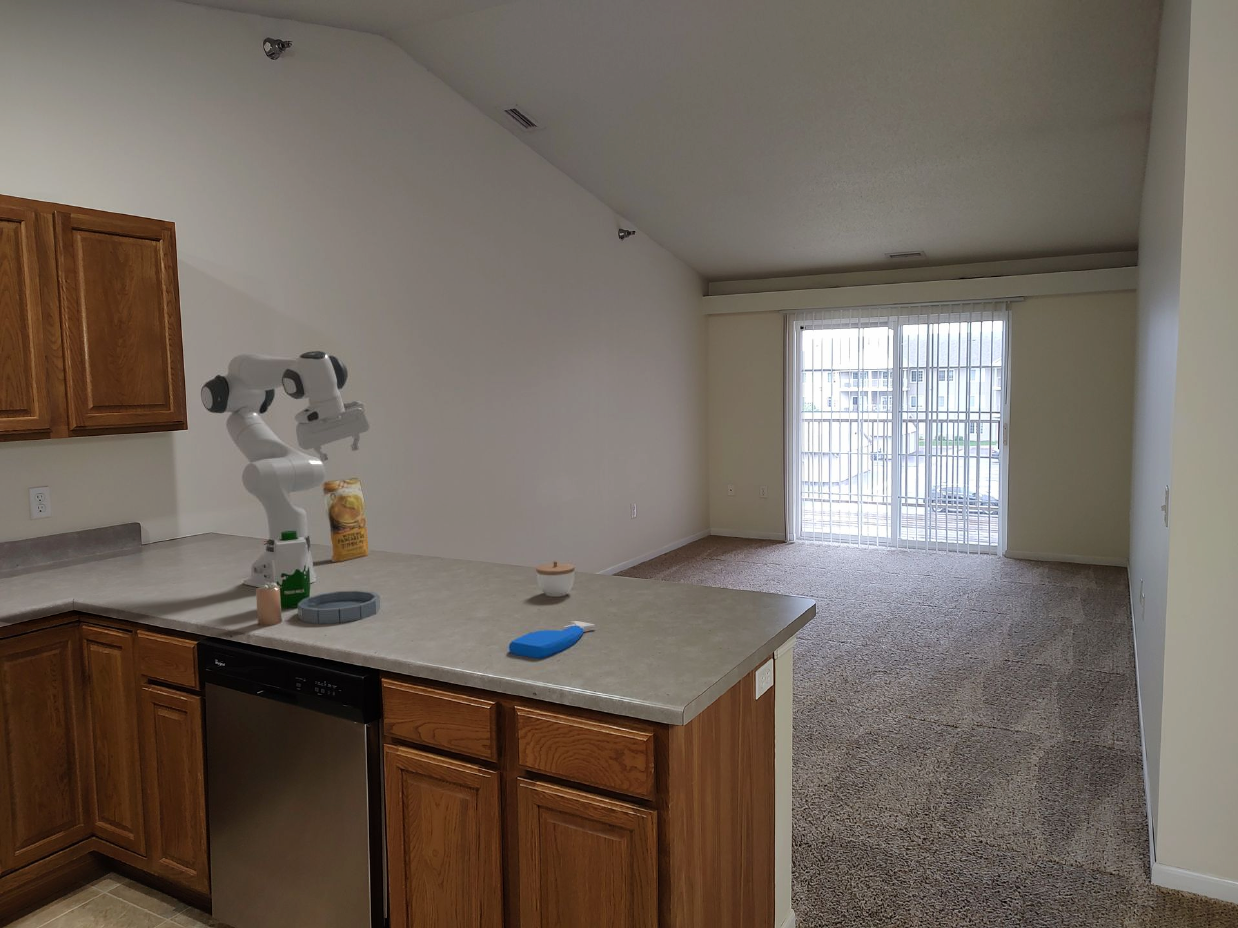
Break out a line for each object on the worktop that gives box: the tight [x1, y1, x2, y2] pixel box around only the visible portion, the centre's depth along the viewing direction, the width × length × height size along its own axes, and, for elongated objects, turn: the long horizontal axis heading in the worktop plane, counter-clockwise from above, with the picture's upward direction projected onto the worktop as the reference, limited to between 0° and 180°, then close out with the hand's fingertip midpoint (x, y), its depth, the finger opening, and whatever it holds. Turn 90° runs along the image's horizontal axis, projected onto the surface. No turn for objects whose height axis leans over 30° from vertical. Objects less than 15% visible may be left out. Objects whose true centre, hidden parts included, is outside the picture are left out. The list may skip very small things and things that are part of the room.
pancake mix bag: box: [321, 477, 370, 563], centre depth 295 cm, size 7×19×28 cm, turn 149°
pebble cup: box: [255, 582, 283, 627], centre depth 213 cm, size 6×6×10 cm
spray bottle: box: [508, 620, 596, 659], centre depth 192 cm, size 3×11×24 cm
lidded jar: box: [535, 560, 575, 598], centre depth 236 cm, size 11×11×9 cm
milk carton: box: [274, 531, 311, 610], centre depth 231 cm, size 9×9×20 cm
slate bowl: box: [297, 590, 381, 625], centre depth 222 cm, size 20×20×4 cm
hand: (340, 455), depth 240 cm, fingers open, 8 cm apart
